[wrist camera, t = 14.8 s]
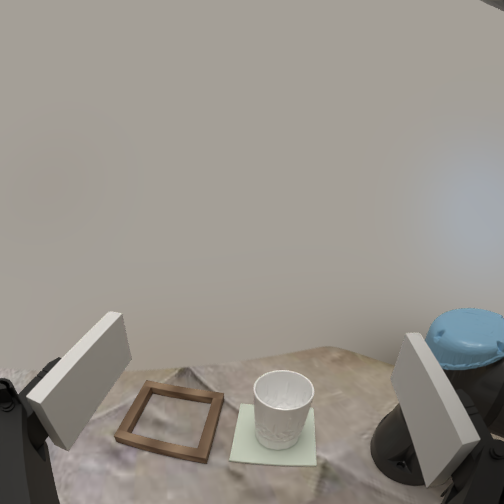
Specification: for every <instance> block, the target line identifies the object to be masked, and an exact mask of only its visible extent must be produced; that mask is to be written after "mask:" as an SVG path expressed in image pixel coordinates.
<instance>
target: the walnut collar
mask: <svg viewBox="0 0 504 504" xmlns="http://www.w3.org/2000/svg"><path fill="white" fill-rule="evenodd" d="M152 393H154V394H159V395H164V396H169V397H174V398H180V399H185V400H191V401H197V402H204V403H211V406H210V410H209V413H208V416H207V420H206V423H205V426H204V429H203V433H202V436H201V439H200V442H199V445H198V449H197V448H192V447H186V446H181V445H176V444H172V443H167V442H163V441H159V440H155V439H151V438H147V437H143V436H139V435H136V434H132V433H131V432H132V431H133V429H134V427H135V425H136V423H137V421H138V419H139V417H140V416H141V414H142V412H143V410H144V408H145V406H146V404H147V402H148V401H149V399H150V397H151V395H152ZM223 401H224V393H219V392H211V391H204V390H198V389H191V388H185V387H179V386H173V385H168V384H163V383H158V382H153V381H148V380H146V382H145V383H144V385H143V387H142V389H141V390H140V392H139V394H138V395H137V397H136V399H135V400H134V402H133V404H132V406H131V407H130V409H129V411H128V412H127V414H126V416H125V418H124V419H123V421H122V423H121V425H120V426H119V428H118V430H117V432H116V433H115V435H114V437H115V439H116V441H117V442H119V443H122V444H126V445H129V446H132V447H136V448H139V449H143V450H146V451H150V452H154V453H158V454H162V455H166V456H170V457H175V458H179V459H184V460H189V461H195V462H200V463H206V464H207V461H208V457H209V454H210V450H211V446H212V442H213V439H214V435H215V431H216V427H217V424H218V420H219V416H220V412H221V409H222V405H223Z"/></svg>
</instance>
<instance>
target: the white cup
mask: <svg viewBox="0 0 504 504" xmlns="http://www.w3.org/2000/svg"><path fill="white" fill-rule="evenodd" d="M313 396H314V387H313V384H312V383H311V381H310V380H309V379H308V378H306V377H305V376H303V375H301V374H299V373H296V372H293V371H287V370H277V371H271V372H268V373H266V374H264V375H262V376H260V377H259V378H258V379H257V380H256V382H255V384H254V422H255V436H256V438H257V439H258V441H259V443H260V444H262V445H263V446H265V447H267V448H269V449H274V450H282V449H288V448H290V447H291V446H293V445H295V444H296V443H297V441H298V440H299V438H300V436H301V432H302V430H303V428H304V425H305V422H306V419H307V416H308V413H309V410H310V406H311V403H312V399H313Z"/></svg>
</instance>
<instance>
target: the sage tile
mask: <svg viewBox="0 0 504 504" xmlns="http://www.w3.org/2000/svg"><path fill="white" fill-rule="evenodd" d="M229 461H230V462H238V463H247V464H258V465H272V466H296V467H316V444H315V426H314V410H313V408H310V410H309V413H308V416H307V419H306V422H305V425H304V428H303V430H302V432H301V436H300V438H299V440H298V441H297V443H296V444H295V445H293V446H291V447H290V448H288V449H282V450H274V449H269V448H267V447H265V446H263V445H262V444H260V443H259V441H258V439H257V438H256V436H255V422H254V405H251V404H241V405H240V410H239V415H238V420H237V425H236V430H235V435H234V440H233V445H232V450H231V455H230V459H229Z"/></svg>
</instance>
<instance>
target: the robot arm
mask: <svg viewBox="0 0 504 504" xmlns="http://www.w3.org/2000/svg"><path fill="white" fill-rule="evenodd" d="M481 1H483V2H485V3H487V4H489V5H491V6H494V7H496V8H498V9H500V10H502V11H504V0H481ZM131 360H132V358H131V353H130V349H129V345H128V340H127V335H126V330H125V325H124V320H123V314H122V313H117V312H110V311H109V312H108V313H107V314H106V315H105V316H104V317H103V318H102V319H101V320H100V321H99V322H98V323H97V324H96V325H95V326H94V327H93V328H92V329H91V330H90V331H89V332H88V333H87V334H86V335H85V336H84V337H83V338H81V340H80V341H78V342H77V343H76V344H75V346H74V347H73V348H72V349H71V350H70V351H69V352H68V353H67V354H66V355H65V356H64V357H63V358H59V357H58V358H57V359H55V360H53V361H51V362H49V363H48V364H47V365H46V366H45V367H44V368H43V369H42V371H40V372H39V373H38V374H37V377H35V378H34V379H33V380H32V381H31V382H30V383H29V384H28V385H27V386H26V387H25V388H24V389H23V390H22V391H21V392H20V393H19V394H17V392H16V390H15V388H14V386H13V384H12V383H11V381H10V380H8V379H5V378H0V504H60V502H59V499H58V495H57V491H56V486H55V482H54V477H53V473H52V468H51V462H50V457H49V451H48V445H47V443H46V441H45V440H46V438H47V437H48V436H49V437H50V439H51V440H52V442H53V443H54V445H56V446H58V447H60V448H62V449H64V450H67V451H69V450H70V449H71V447H72V446H73V444H74V443H75V441H76V439H77V438H78V436H79V435H80V433H81V432H82V430H83V429H84V427H85V426H86V425H87V423H88V422H89V420H90V419H91V417H92V416H93V414H94V413H95V411H96V410H97V408H98V407H99V405H100V404H101V402H102V401H103V400H104V398H105V397H106V395H107V394H108V392H109V391H110V389H111V388H112V387H113V385H114V384H115V382H116V381H117V379H118V378H119V377H120V375H121V374H122V372H123V371H124V369H125V368H126V367H127V365H128V364H129V362H130V361H131ZM391 382H392V384H393V387H394V390H395V392H396V395H397V398H398V401H399V404H398V405H397V406H396V407H395V408H394V409H393V411H391V412H390V413H389V414H387V415H386V416H385V417H384V418H383V419H382V420H381V422H380V423H379V424H378V426H377V428H376V430H375V432H374V434H373V437H372V440H371V453H372V457H373V459H374V461H375V463H376V465H377V466H378V468H379V469H380V470H381V471H382V472H383V473H384V474H385V475H387V476H388V477H390V478H391V479H393V480H395V481H398V482H400V483H404V484H409V485H422V484H426V488H430V487H434V486H437V485H441V484H444V483H445V482H446V481H447V480H448V479H449V477H450V476H452V479H453V483H452V484H451V485H450V486H449V487H448V488H447V489H446V490H445V491H444V492H443V493H442V495H441V497H443V496H444V495H445V494H446V495H445V497H444V499H443V501H442V503H441V504H504V442H503V441H501V440H497V439H493V438H492V436H491V434H490V433H492V434H495V435H497V436H500V437H502V438H504V318H503V316H502V315H499V314H497V313H494V312H491V311H487V310H482V309H475V308H461V309H455V310H451V311H448V312H445V313H443V314H441V315H440V316H439V317H437V318H436V319H435V320H434V321H433V323H432V324H431V326H430V328H429V331H428V333H427V336H426V339H425V340H424V339H423V337H422V336H421V334H420V333H405V337H404V340H403V343H402V347H401V350H400V353H399V356H398V359H397V362H396V365H395V368H394V370H393V373H392V376H391Z"/></svg>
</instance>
